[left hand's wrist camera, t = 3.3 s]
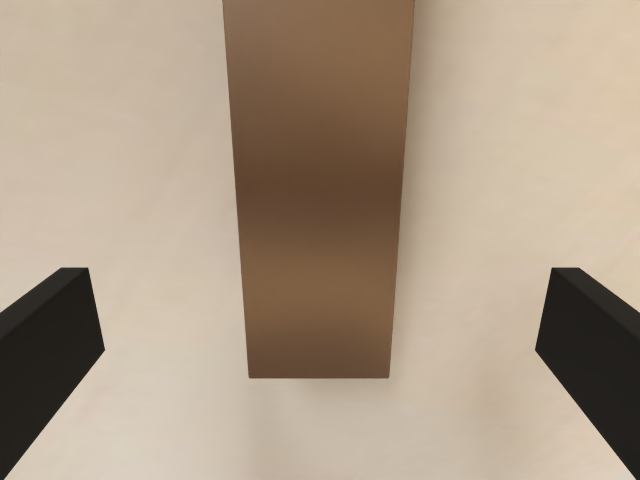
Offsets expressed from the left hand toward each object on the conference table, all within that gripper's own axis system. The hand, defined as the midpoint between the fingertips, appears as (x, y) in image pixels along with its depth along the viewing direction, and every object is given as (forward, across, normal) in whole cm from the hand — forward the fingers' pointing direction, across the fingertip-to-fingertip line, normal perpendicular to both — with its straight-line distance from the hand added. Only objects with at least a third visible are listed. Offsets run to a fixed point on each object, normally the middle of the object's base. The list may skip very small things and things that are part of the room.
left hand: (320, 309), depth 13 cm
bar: (+12, 0, -32) cm, 34 cm away
